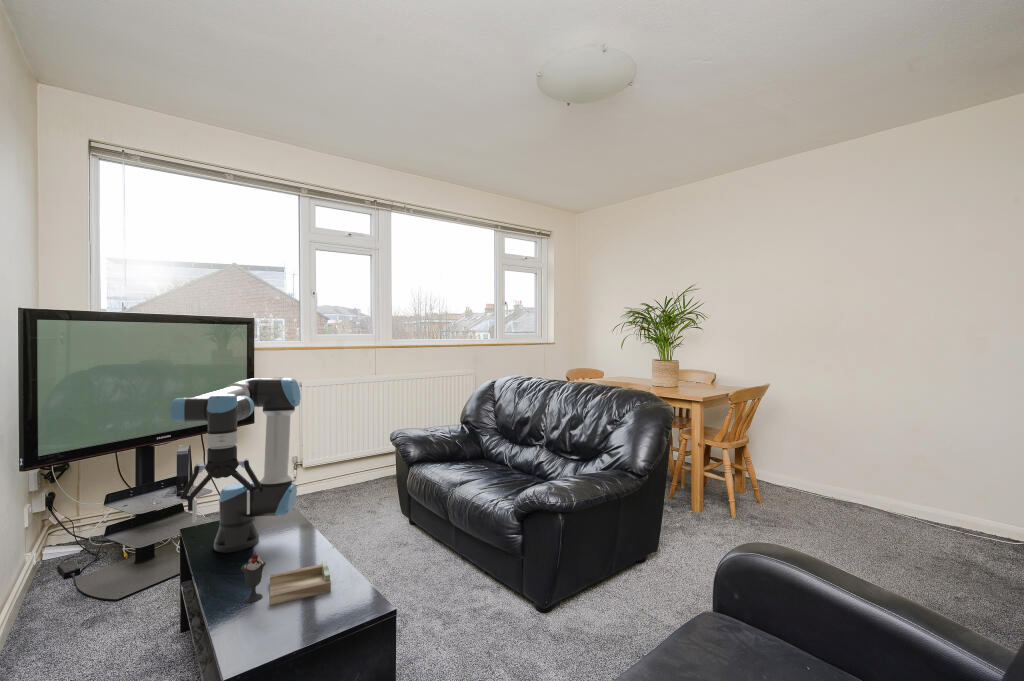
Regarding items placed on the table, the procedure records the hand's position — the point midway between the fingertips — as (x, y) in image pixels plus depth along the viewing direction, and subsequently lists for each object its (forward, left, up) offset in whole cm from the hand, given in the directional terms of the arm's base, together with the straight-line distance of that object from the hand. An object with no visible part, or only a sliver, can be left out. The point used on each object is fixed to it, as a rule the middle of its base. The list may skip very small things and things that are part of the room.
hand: (222, 517), depth 136 cm
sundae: (0, +8, -27) cm, 28 cm away
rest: (0, +21, -27) cm, 34 cm away
